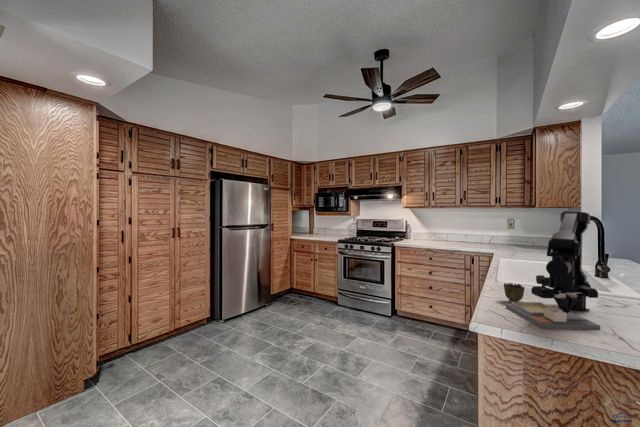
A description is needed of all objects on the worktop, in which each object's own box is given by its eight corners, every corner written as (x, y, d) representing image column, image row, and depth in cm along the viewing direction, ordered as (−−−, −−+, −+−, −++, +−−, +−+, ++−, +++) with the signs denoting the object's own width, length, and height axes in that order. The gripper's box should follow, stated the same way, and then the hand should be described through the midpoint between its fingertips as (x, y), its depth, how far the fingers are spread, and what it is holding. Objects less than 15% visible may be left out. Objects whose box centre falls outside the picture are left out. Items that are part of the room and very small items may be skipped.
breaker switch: (555, 316, 100) (555, 305, 100) (566, 322, 95) (566, 310, 95) (543, 316, 100) (543, 304, 100) (554, 321, 95) (554, 309, 95)
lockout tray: (540, 305, 113) (540, 302, 113) (564, 316, 101) (564, 312, 101) (511, 304, 113) (511, 301, 113) (531, 315, 102) (531, 312, 102)
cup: (528, 306, 115) (528, 287, 115) (508, 305, 116) (508, 286, 116) (518, 300, 122) (519, 283, 122) (500, 299, 124) (500, 282, 124)
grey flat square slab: (553, 308, 113) (553, 304, 113) (600, 329, 93) (600, 325, 93) (506, 307, 114) (506, 303, 114) (541, 328, 94) (542, 323, 94)
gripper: (571, 266, 105) (572, 307, 105) (520, 267, 106) (521, 307, 106) (599, 273, 94) (600, 319, 94) (542, 274, 95) (543, 319, 95)
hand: (564, 315), depth 98 cm, fingers closed
